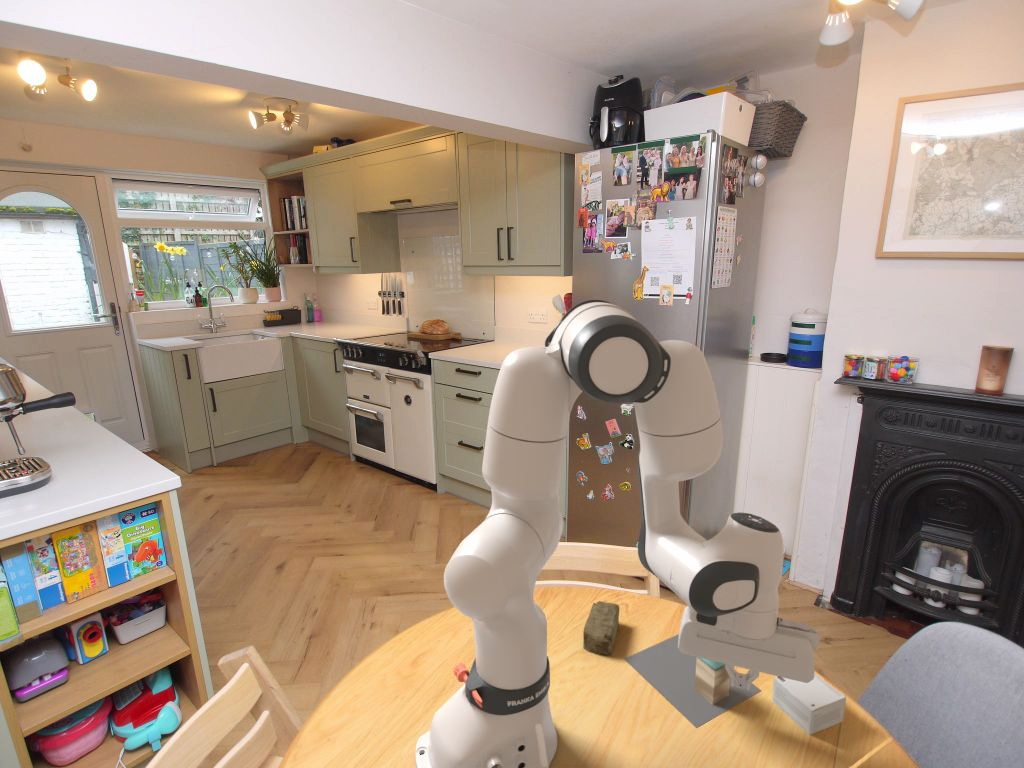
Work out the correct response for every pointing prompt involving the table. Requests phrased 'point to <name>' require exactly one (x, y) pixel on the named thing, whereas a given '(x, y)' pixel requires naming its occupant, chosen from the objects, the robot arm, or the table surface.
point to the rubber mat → (682, 681)
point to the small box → (809, 703)
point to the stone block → (601, 628)
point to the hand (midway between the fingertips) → (739, 686)
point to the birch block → (711, 680)
